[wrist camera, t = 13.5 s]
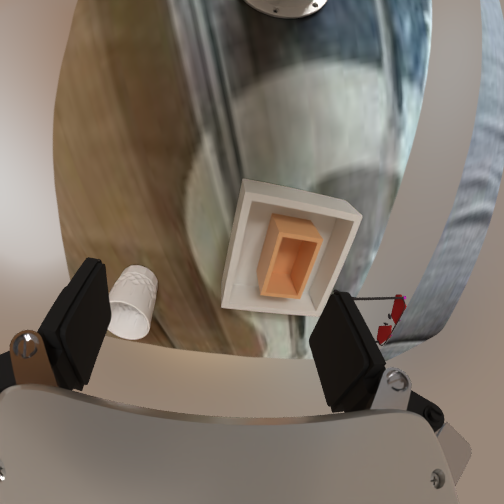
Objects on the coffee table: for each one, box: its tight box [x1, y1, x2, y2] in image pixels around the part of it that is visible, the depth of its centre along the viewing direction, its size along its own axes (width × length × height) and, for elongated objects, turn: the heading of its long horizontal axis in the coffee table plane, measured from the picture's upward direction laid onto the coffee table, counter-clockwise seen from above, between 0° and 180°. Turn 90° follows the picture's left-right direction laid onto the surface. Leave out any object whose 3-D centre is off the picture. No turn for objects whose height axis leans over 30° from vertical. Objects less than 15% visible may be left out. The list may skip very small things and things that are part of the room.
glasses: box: [334, 290, 407, 346], centre depth 51 cm, size 14×16×5 cm
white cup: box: [108, 265, 158, 340], centre depth 39 cm, size 8×8×10 cm
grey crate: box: [221, 178, 363, 317], centre depth 40 cm, size 18×16×6 cm
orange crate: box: [256, 213, 323, 299], centre depth 39 cm, size 10×6×6 cm, turn 168°
